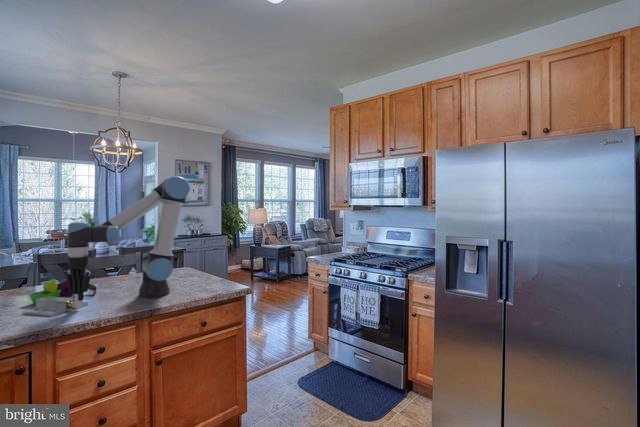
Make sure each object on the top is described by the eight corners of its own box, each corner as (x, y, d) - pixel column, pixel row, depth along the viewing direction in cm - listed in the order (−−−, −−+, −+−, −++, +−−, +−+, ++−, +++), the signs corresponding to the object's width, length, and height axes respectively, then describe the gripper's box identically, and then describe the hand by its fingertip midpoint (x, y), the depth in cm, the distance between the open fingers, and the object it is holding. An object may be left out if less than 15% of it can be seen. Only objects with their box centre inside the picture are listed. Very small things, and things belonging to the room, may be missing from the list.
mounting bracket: (40, 310, 169) (78, 292, 175) (31, 296, 168) (69, 278, 174) (48, 305, 178) (83, 288, 184) (39, 291, 177) (75, 275, 182)
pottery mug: (76, 295, 178) (85, 281, 181) (93, 302, 179) (102, 288, 182) (65, 295, 167) (75, 280, 169) (83, 303, 168) (93, 288, 170)
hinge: (87, 304, 160) (87, 295, 160) (52, 316, 142) (52, 305, 142) (60, 302, 163) (60, 293, 162) (22, 314, 145) (22, 303, 145)
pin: (81, 308, 152) (80, 300, 152) (73, 310, 149) (73, 302, 148) (49, 305, 155) (49, 297, 155) (41, 308, 152) (40, 300, 152)
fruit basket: (48, 298, 170) (48, 276, 170) (65, 298, 170) (64, 277, 170) (28, 305, 159) (27, 281, 158) (45, 305, 158) (45, 282, 158)
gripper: (97, 255, 152) (97, 305, 153) (73, 254, 155) (74, 304, 155) (83, 257, 145) (83, 310, 145) (58, 256, 147) (58, 309, 148)
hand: (78, 307), depth 150 cm, fingers closed
